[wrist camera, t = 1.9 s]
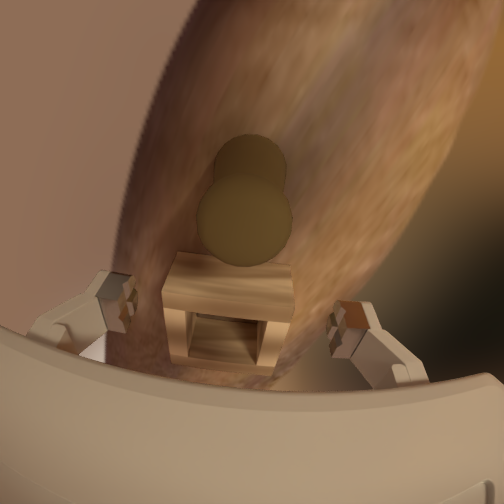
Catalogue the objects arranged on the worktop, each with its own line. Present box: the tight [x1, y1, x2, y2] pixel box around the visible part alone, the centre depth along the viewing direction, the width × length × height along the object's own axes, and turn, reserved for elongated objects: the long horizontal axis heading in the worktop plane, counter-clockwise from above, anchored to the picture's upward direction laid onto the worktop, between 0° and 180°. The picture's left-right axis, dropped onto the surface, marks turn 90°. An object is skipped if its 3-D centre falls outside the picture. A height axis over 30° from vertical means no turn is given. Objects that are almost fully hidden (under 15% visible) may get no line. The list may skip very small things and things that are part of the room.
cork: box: [196, 134, 293, 267], centre depth 18 cm, size 6×6×11 cm
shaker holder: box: [161, 251, 295, 376], centre depth 29 cm, size 11×11×6 cm
